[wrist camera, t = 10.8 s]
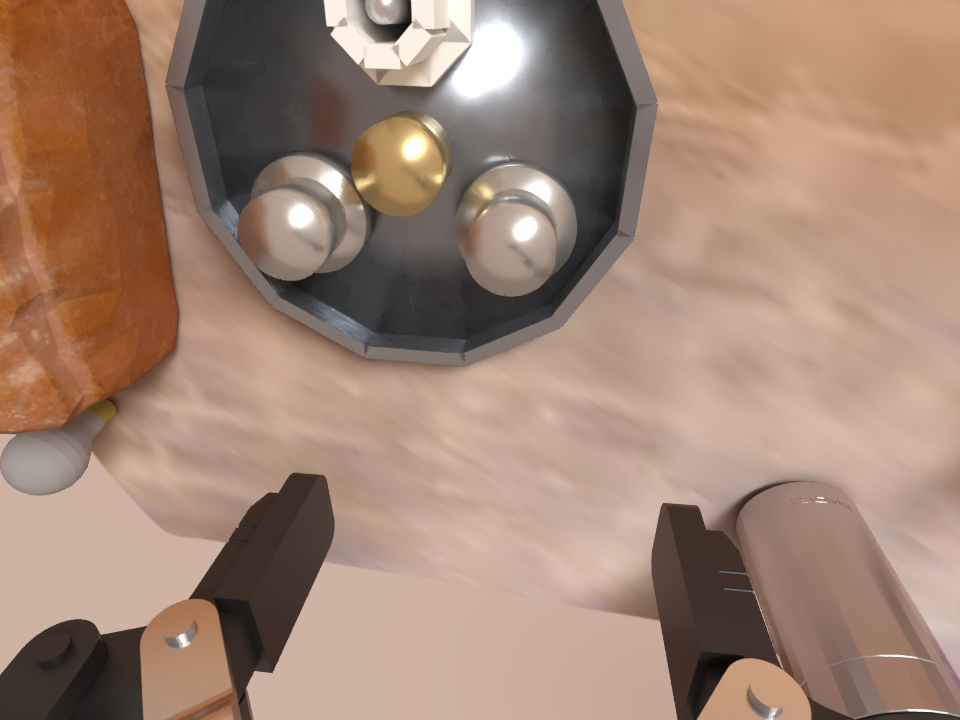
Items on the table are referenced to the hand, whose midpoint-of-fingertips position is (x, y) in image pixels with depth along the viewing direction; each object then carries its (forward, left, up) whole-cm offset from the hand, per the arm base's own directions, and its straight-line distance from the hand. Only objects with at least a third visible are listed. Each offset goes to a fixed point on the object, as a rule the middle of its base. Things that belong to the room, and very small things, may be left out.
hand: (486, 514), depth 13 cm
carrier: (+3, +7, -26) cm, 27 cm away
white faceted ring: (+10, +7, -25) cm, 28 cm away
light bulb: (-20, +36, -27) cm, 49 cm away
